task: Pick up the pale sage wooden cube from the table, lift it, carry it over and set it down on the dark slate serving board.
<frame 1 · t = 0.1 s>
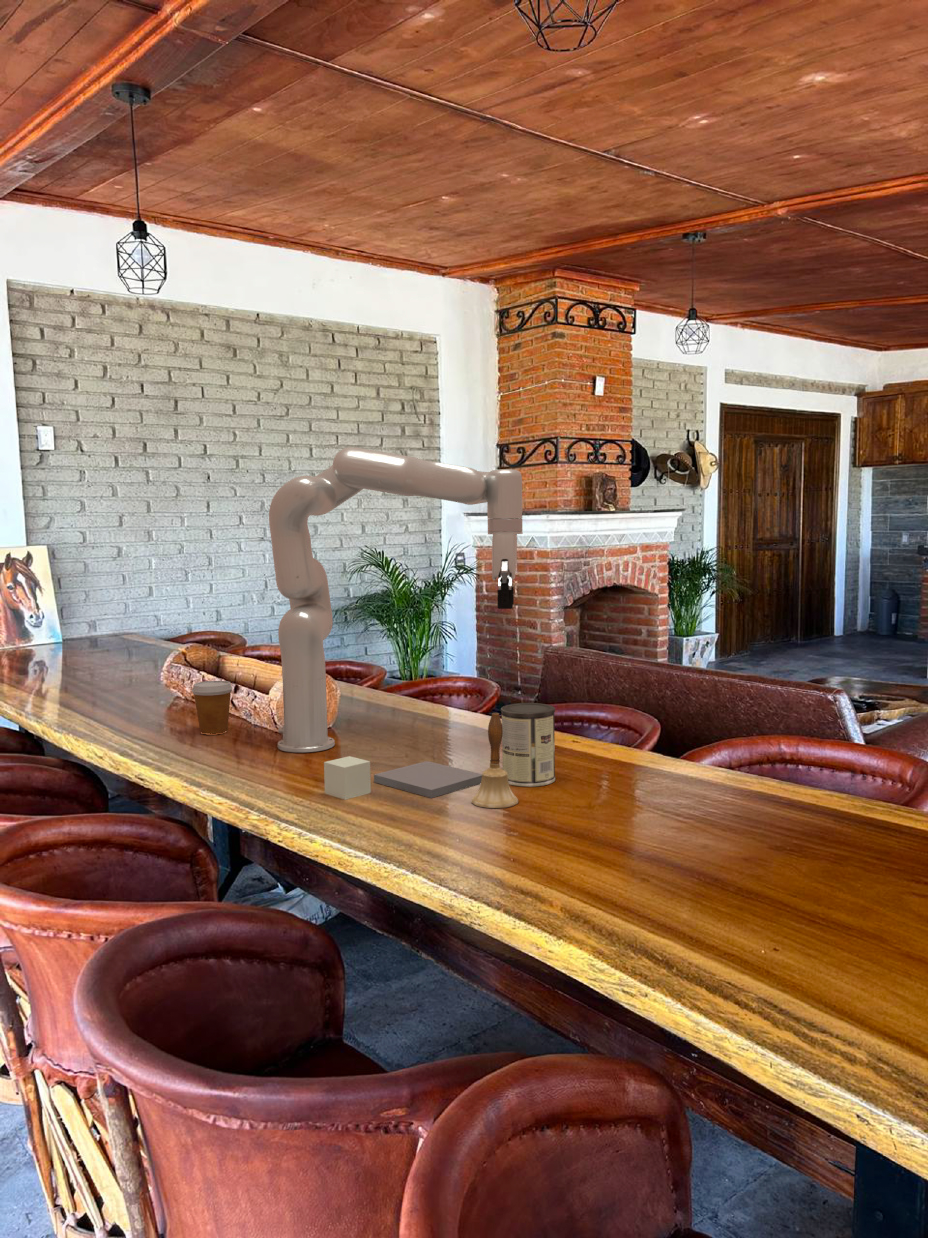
hand: (505, 606, 204), 31 cm above the table, tool pointing down, fingers open, 9 cm apart
disposable coffee cup: (214, 733, 227), on the table
slate board: (429, 782, 180), on the table
coffee can: (528, 780, 181), on the table
cube: (347, 793, 174), on the table
hand bell: (495, 803, 167), on the table
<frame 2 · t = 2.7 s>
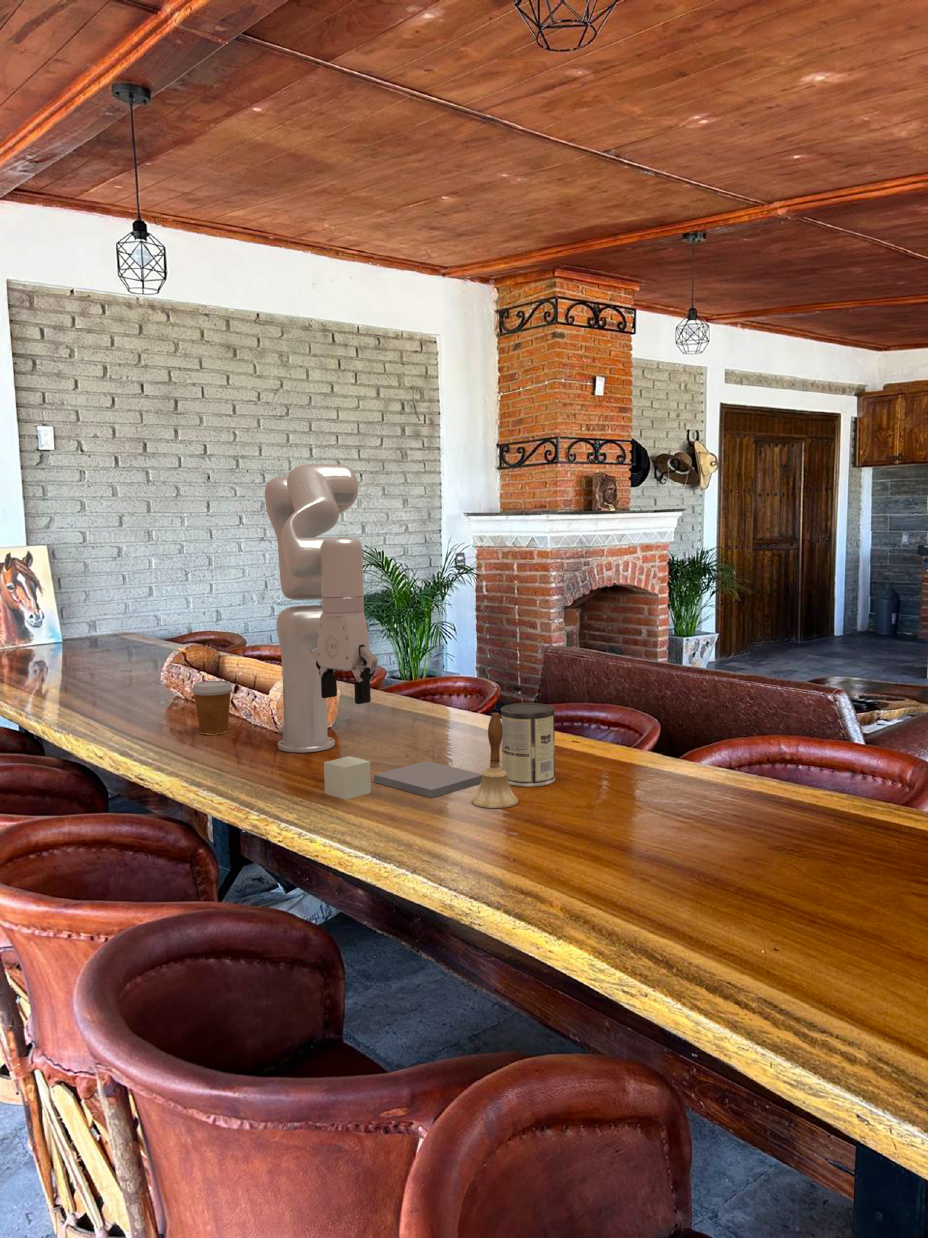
hand: (345, 700, 172), 17 cm above the table, tool pointing down, fingers open, 9 cm apart
nothing on the table moved.
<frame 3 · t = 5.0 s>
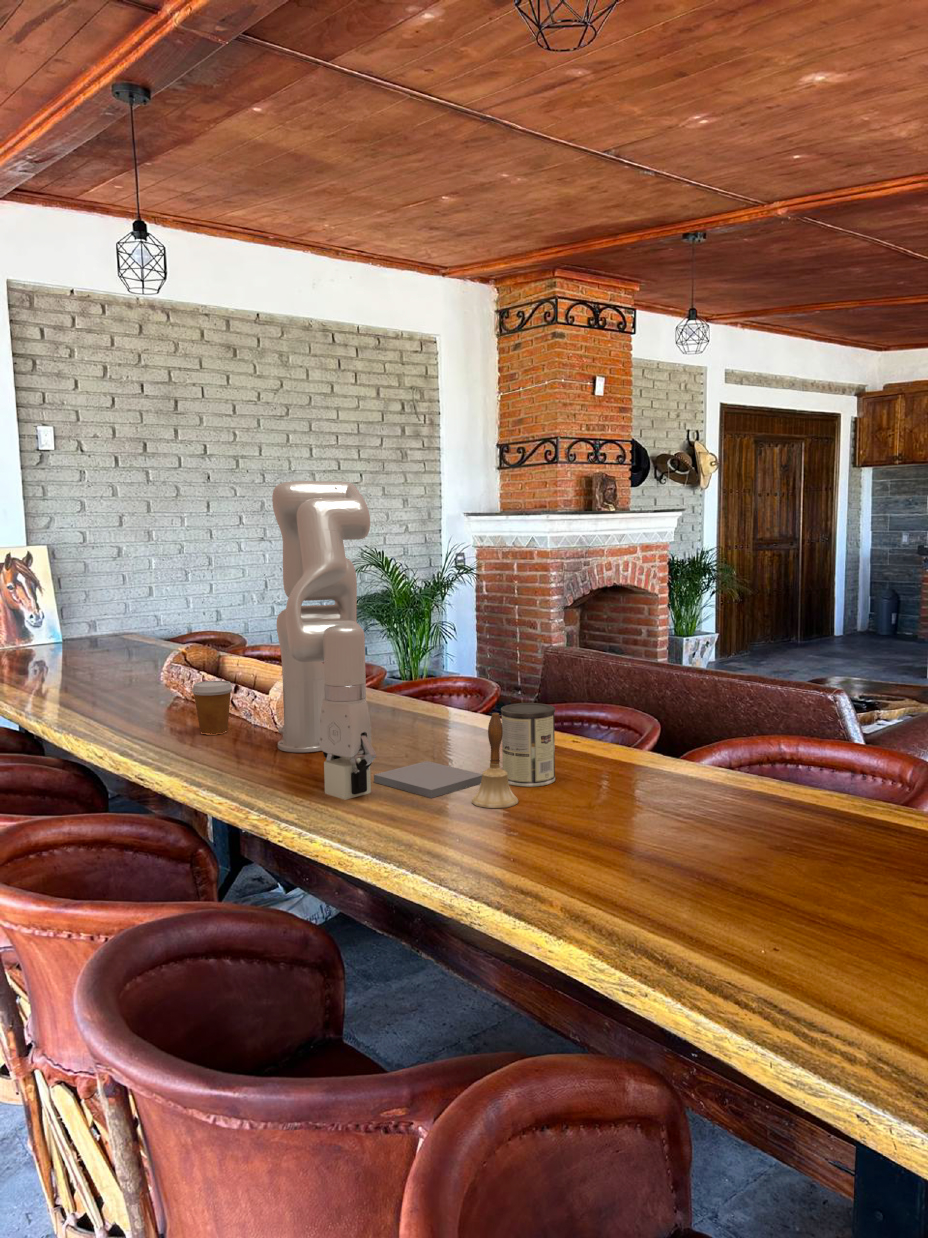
hand: (347, 788, 174), 1 cm above the table, tool pointing down, fingers closed on cube, 6 cm apart
cube: (347, 793, 174), on the table, touching gripper
everything else where it was.
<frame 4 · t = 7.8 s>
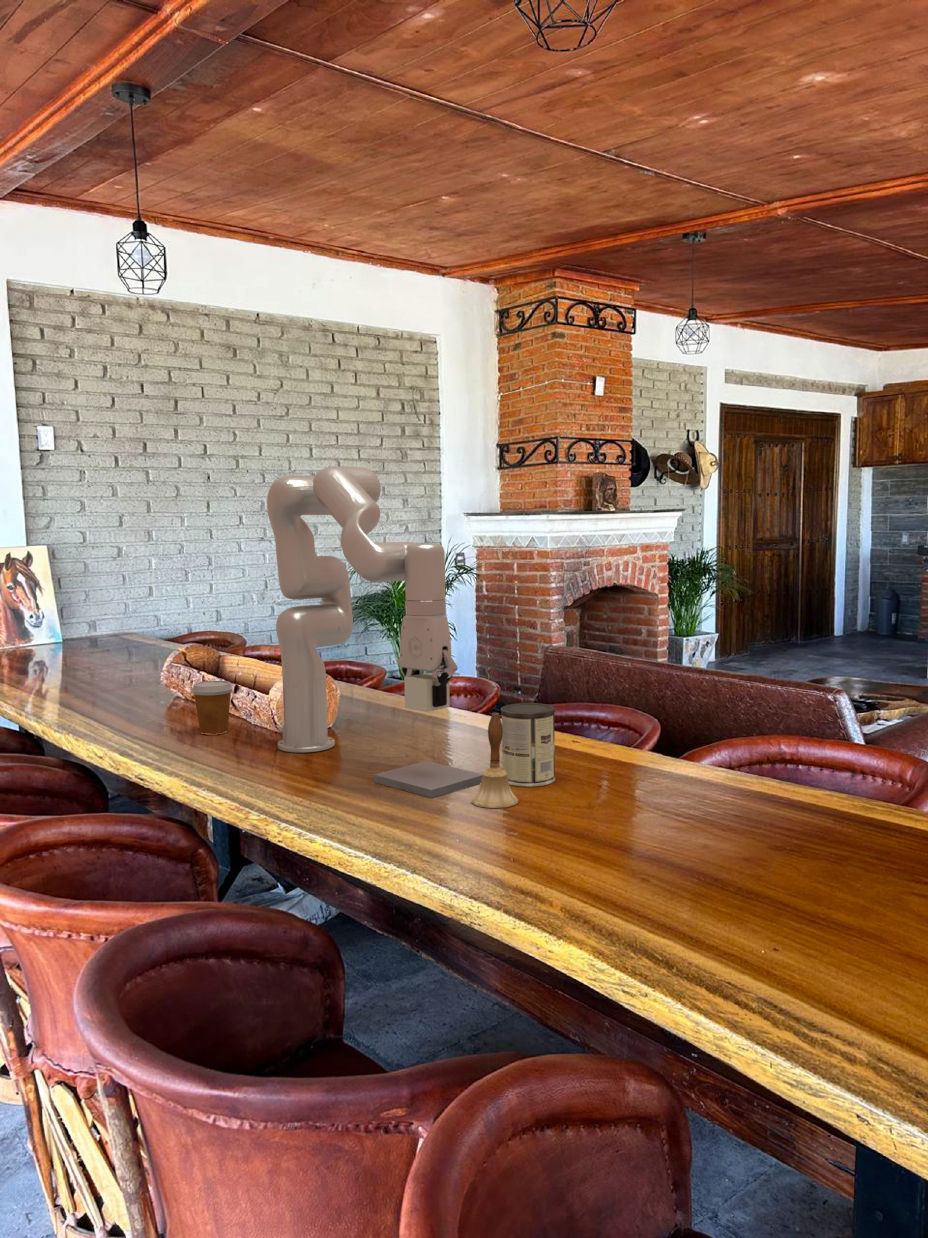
hand: (427, 702, 179), 15 cm above the table, tool pointing down, fingers closed on cube, 6 cm apart
cube: (427, 707, 179), point 15 cm above the table, touching gripper
everything else where it was.
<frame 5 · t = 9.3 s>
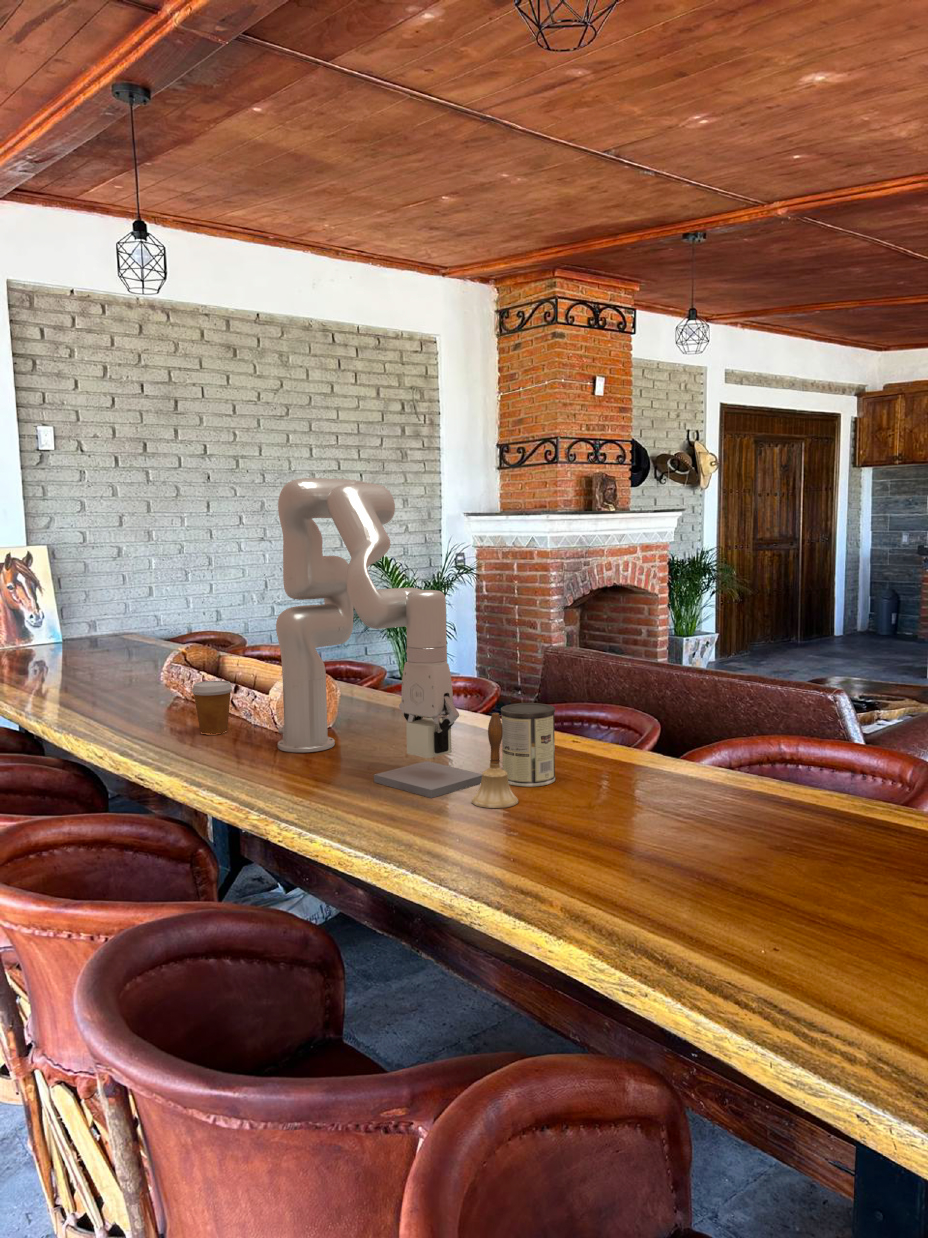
hand: (429, 748, 179), 7 cm above the table, tool pointing down, fingers closed on cube, 6 cm apart
cube: (429, 753, 180), point 6 cm above the table, touching gripper
everything else where it was.
when the fingers open (4 cm above the table, at t = 10.7 s): cube drops 2 cm, resting on slate board.
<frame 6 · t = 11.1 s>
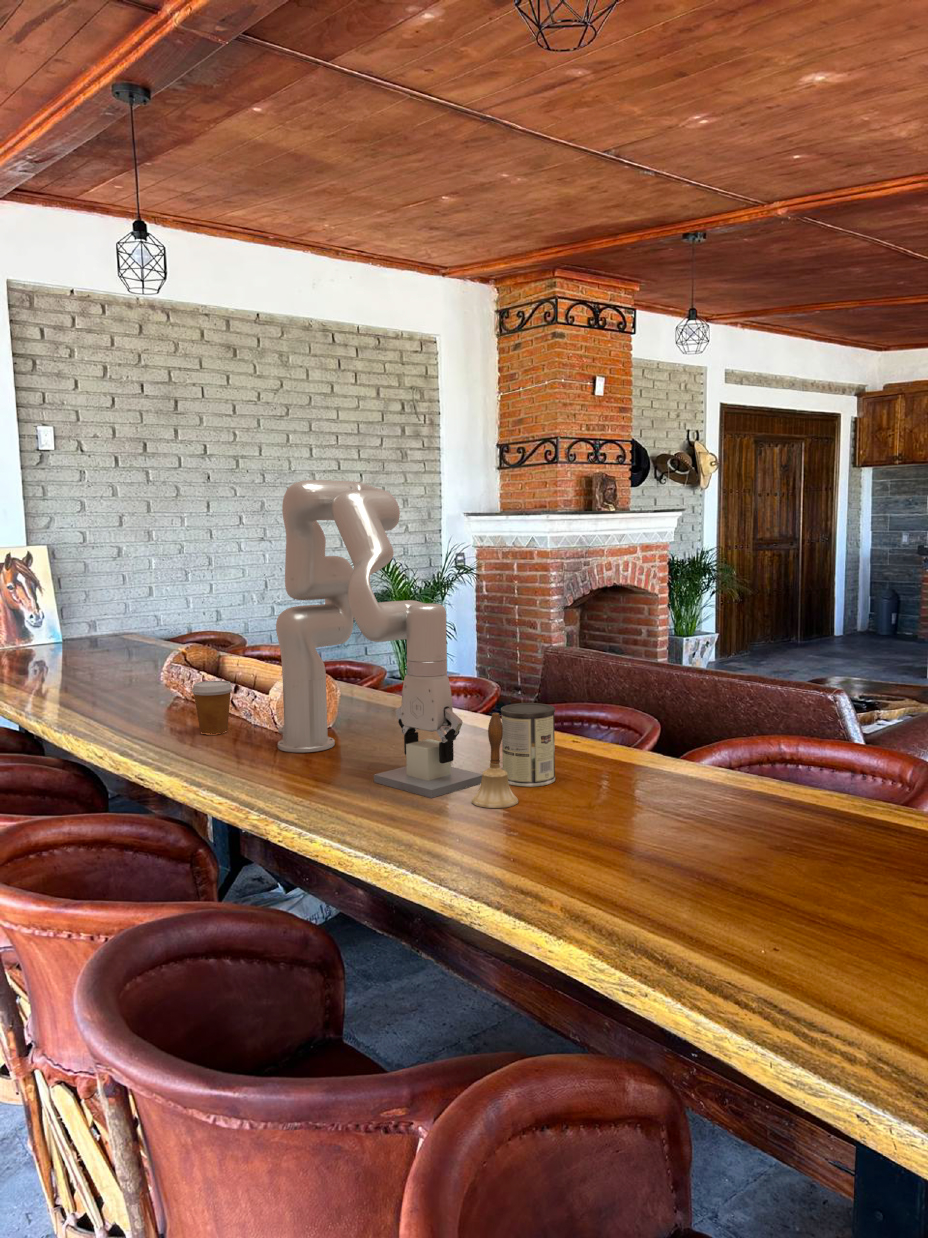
hand: (428, 757, 180), 5 cm above the table, tool pointing down, fingers open, 9 cm apart
cube: (428, 774, 180), point 1 cm above the table, touching slate board
everything else where it was.
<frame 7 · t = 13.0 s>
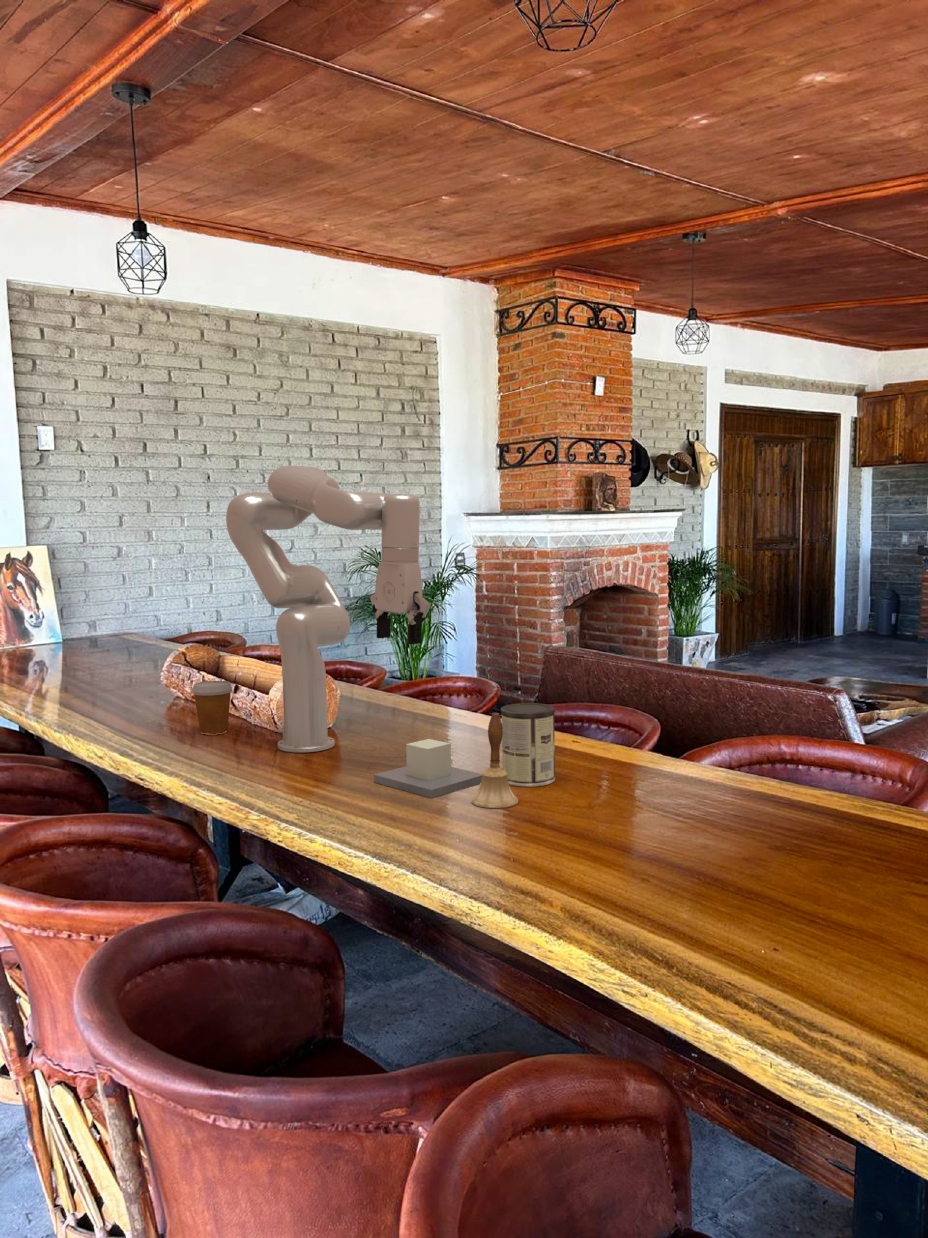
hand: (398, 640, 191), 26 cm above the table, tool pointing down, fingers open, 9 cm apart
nothing on the table moved.
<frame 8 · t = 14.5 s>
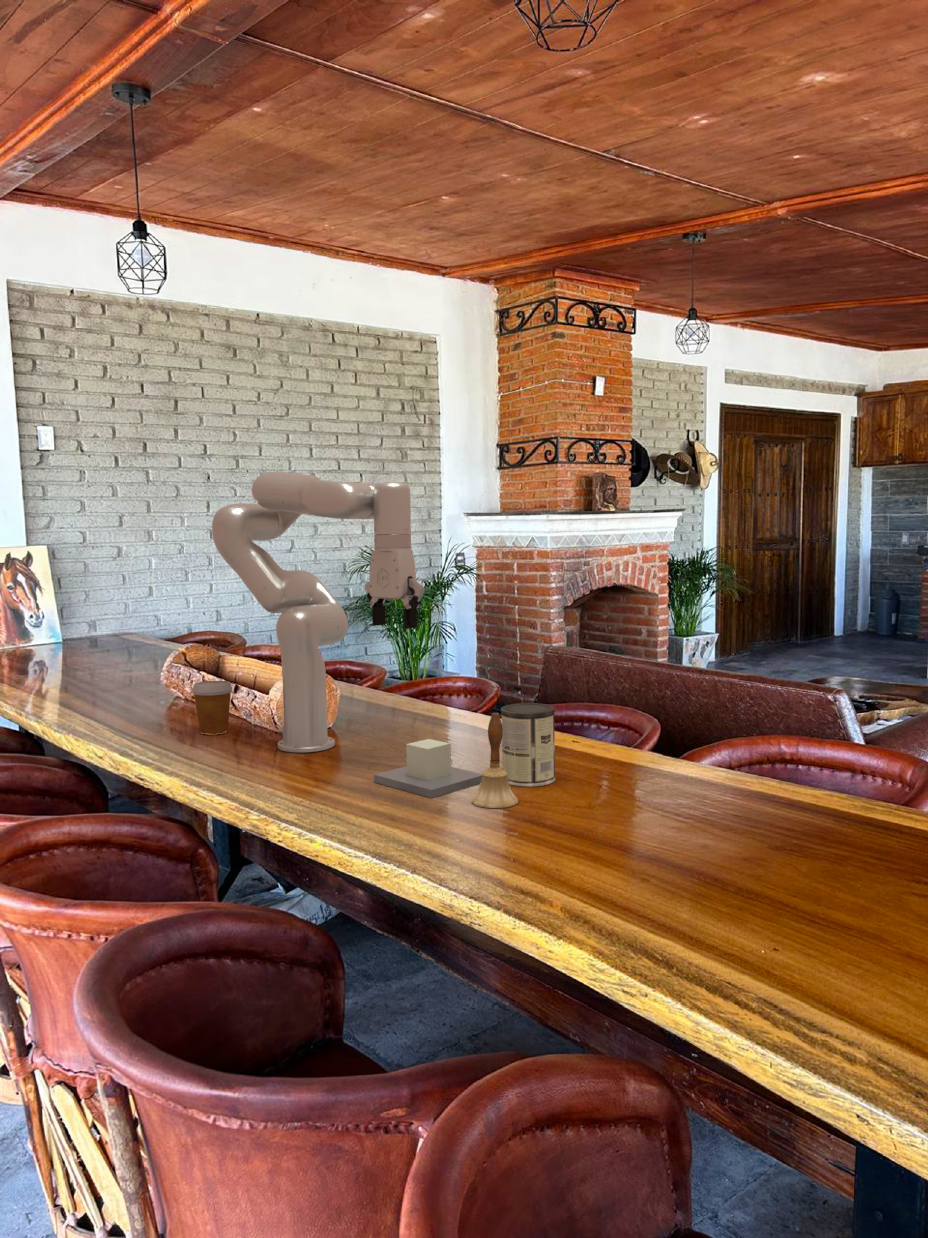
hand: (394, 626, 194), 28 cm above the table, tool pointing down, fingers open, 9 cm apart
nothing on the table moved.
at the end: cube inside the target area on the slate board (0.0 cm from its centre), point 1.5 cm above the slate board's base; cube tilted 0°; the gripper is holding nothing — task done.
